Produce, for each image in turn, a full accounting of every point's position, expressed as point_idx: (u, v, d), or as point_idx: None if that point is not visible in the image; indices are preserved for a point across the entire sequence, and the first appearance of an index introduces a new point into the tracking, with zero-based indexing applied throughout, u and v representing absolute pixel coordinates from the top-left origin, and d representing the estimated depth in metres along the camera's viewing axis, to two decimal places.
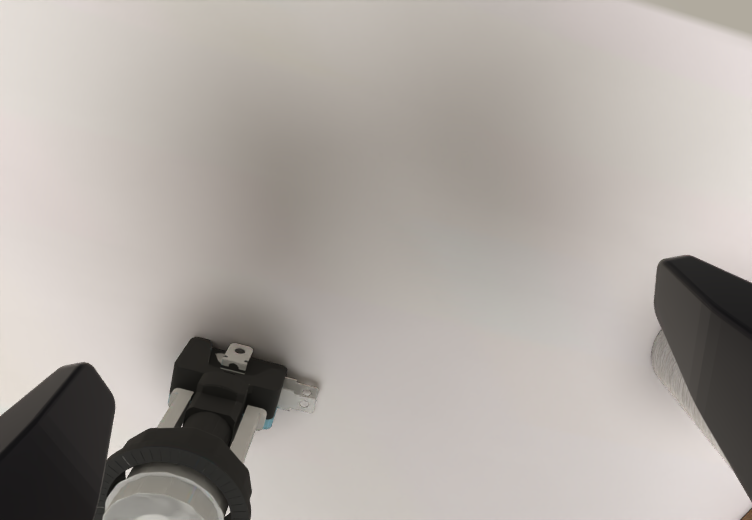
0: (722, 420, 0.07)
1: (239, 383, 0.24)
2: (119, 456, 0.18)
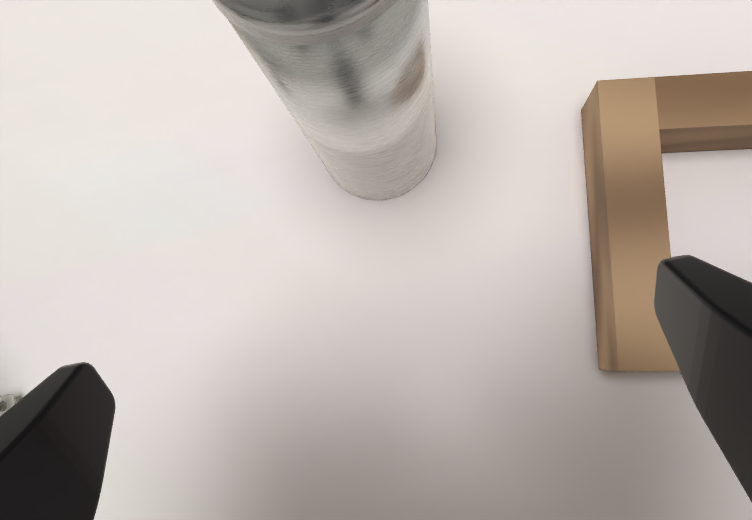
0: (722, 420, 0.07)
1: None
2: None
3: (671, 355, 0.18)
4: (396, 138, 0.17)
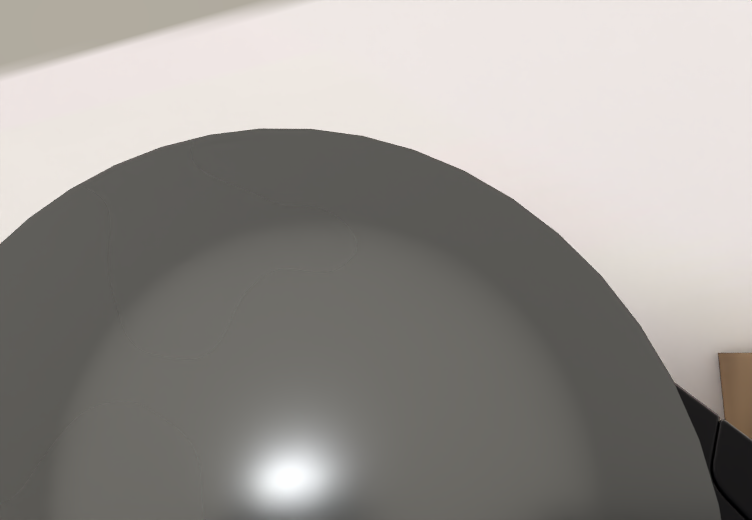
0: None
1: None
2: None
3: None
4: None
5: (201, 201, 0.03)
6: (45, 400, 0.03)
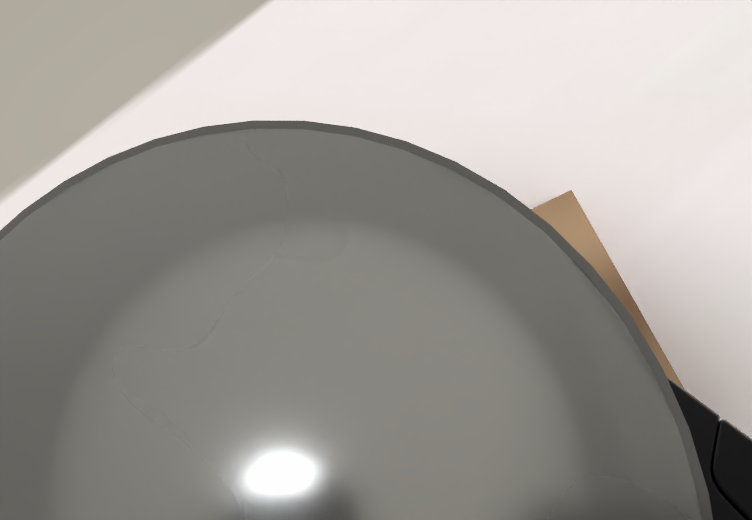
0: None
1: None
2: None
3: None
4: None
5: (194, 193, 0.03)
6: (39, 391, 0.03)
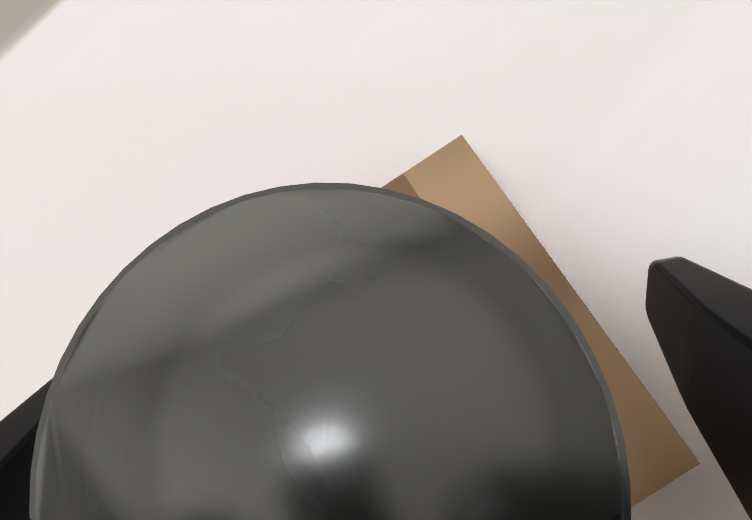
0: (712, 422, 0.07)
1: None
2: None
3: None
4: None
5: (273, 234, 0.05)
6: (166, 372, 0.05)
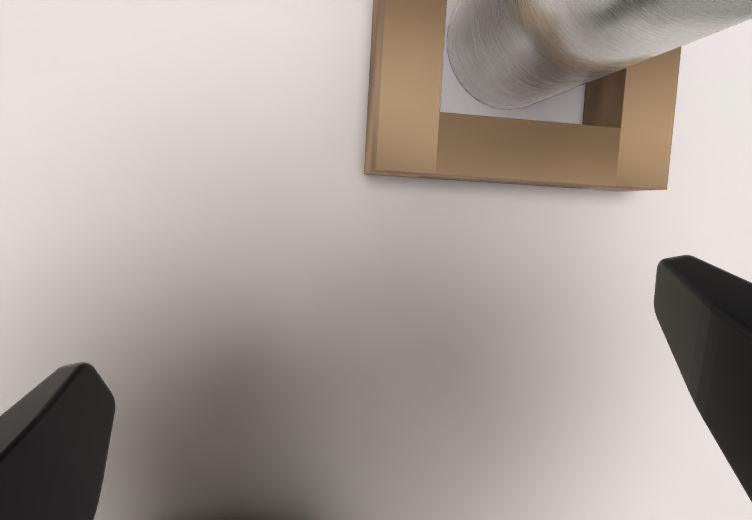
0: (722, 420, 0.07)
1: None
2: None
3: (428, 157, 0.18)
4: (586, 73, 0.15)
5: None
6: None
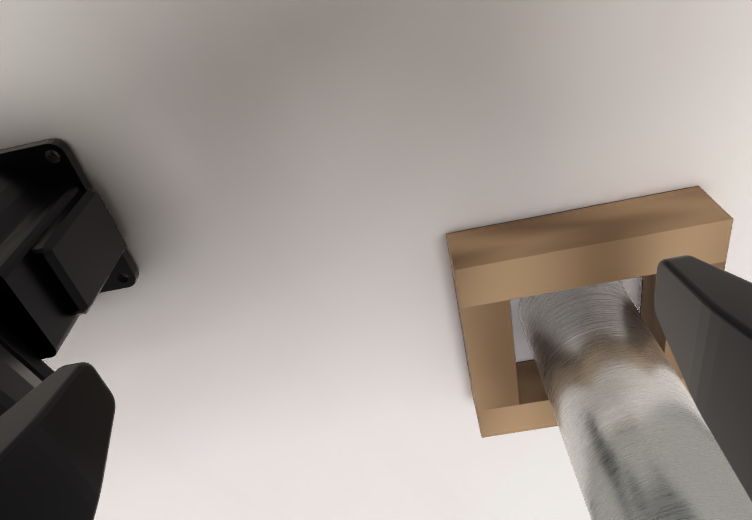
0: (722, 420, 0.07)
1: None
2: None
3: (472, 301, 0.22)
4: (555, 413, 0.21)
5: None
6: None
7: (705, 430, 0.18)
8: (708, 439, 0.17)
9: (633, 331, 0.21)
